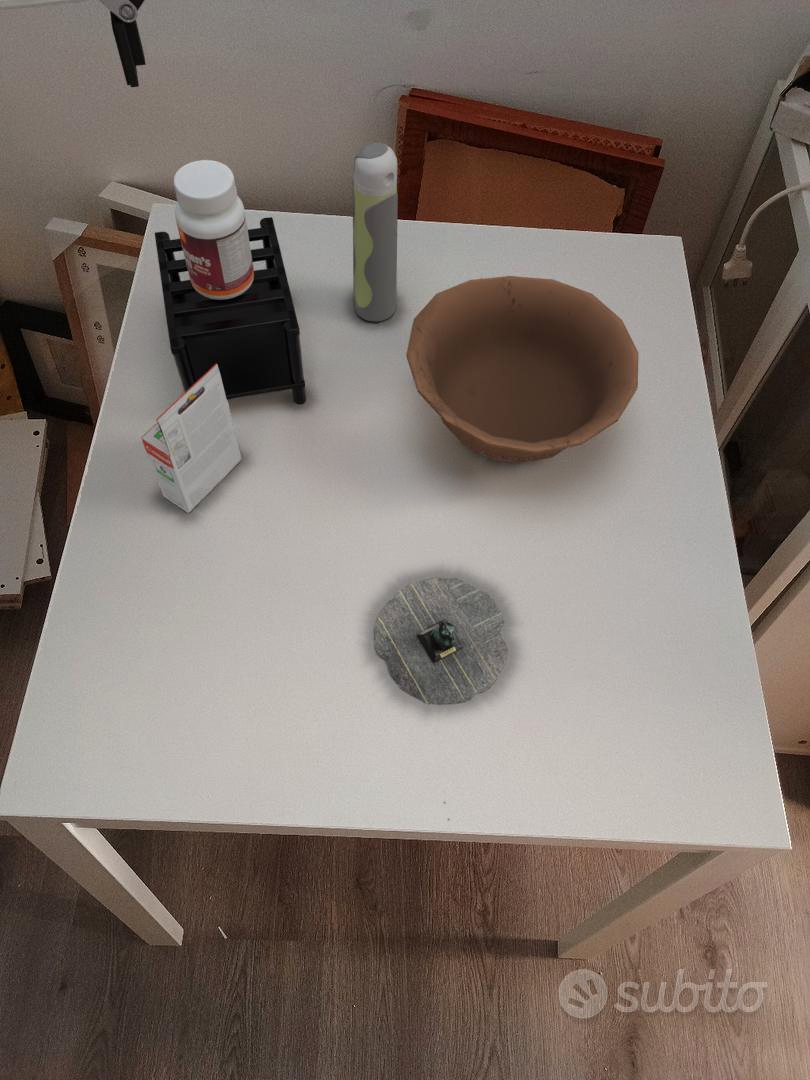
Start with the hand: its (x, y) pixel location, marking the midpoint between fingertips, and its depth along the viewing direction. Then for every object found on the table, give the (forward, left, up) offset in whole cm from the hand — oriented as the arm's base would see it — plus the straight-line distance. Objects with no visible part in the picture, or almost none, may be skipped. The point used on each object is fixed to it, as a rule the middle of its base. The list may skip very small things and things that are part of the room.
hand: (56, 83), depth 54 cm
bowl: (+34, -7, -36) cm, 50 cm away
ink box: (+2, -7, -36) cm, 37 cm away
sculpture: (+21, -29, -36) cm, 51 cm away
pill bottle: (+8, +8, -26) cm, 28 cm away
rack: (+8, +8, -36) cm, 38 cm away
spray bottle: (+24, +12, -36) cm, 45 cm away
